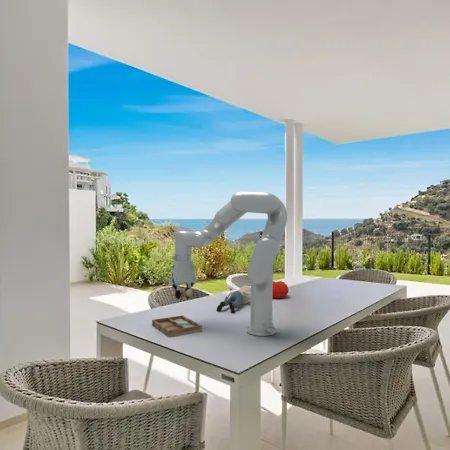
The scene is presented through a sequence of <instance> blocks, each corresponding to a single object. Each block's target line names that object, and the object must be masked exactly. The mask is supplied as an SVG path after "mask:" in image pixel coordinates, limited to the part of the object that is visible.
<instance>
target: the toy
mask: <svg viewBox="0 0 450 450" xmlns="http://www.w3.org/2000/svg"><path fill="white" fill-rule="evenodd" d="M250 296H251V286H249V285H243V286H241V287H240V289H237V290H234V291H233V290H232V291H230V292H229V294H228V295H227V296H225V298H224V300H223V301H220V303H219V305H217V306H216V310H215V311H216V312H218V313H221V312H222V311H223V308H224V307H227V306H228V308H229V309H230V313H231V314H236V309H235V308H237V307H239V306H240V305H246V304H247V303H249V302H250Z"/></svg>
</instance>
